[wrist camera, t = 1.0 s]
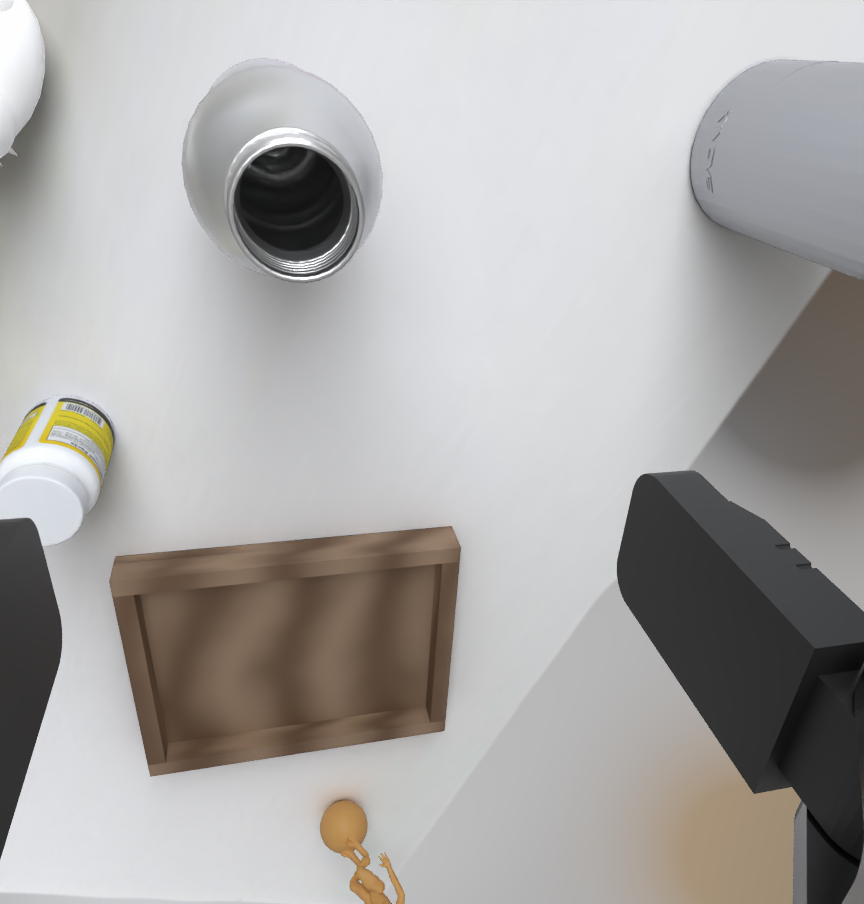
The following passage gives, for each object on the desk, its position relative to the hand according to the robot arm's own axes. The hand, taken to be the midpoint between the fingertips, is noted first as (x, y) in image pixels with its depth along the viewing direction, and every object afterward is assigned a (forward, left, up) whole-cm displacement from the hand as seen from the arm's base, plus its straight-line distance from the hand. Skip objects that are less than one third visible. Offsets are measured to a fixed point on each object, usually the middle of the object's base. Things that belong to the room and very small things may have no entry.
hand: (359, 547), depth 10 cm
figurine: (-4, +52, -32) cm, 61 cm away
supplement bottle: (+12, +14, -32) cm, 37 cm away
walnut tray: (0, +32, -32) cm, 45 cm away
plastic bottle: (0, -2, -32) cm, 32 cm away
